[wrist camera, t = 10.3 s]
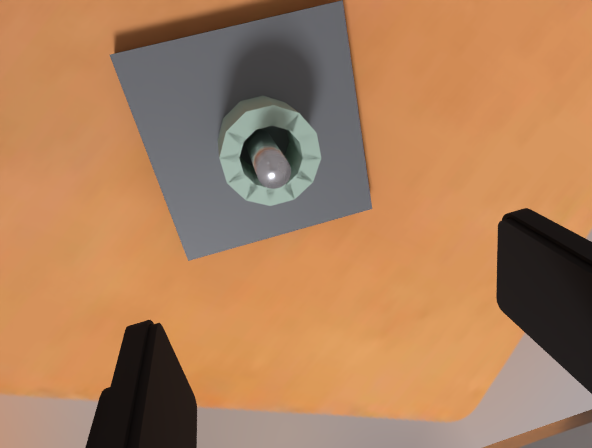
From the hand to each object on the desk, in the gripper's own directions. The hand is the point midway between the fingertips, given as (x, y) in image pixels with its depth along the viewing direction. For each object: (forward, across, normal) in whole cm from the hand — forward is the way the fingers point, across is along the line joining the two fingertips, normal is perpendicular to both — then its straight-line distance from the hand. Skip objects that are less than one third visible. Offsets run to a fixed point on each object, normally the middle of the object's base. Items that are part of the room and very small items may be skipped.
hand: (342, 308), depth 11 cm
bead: (+22, 0, +1) cm, 22 cm away
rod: (+22, 0, +1) cm, 22 cm away
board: (+24, 0, +1) cm, 24 cm away
